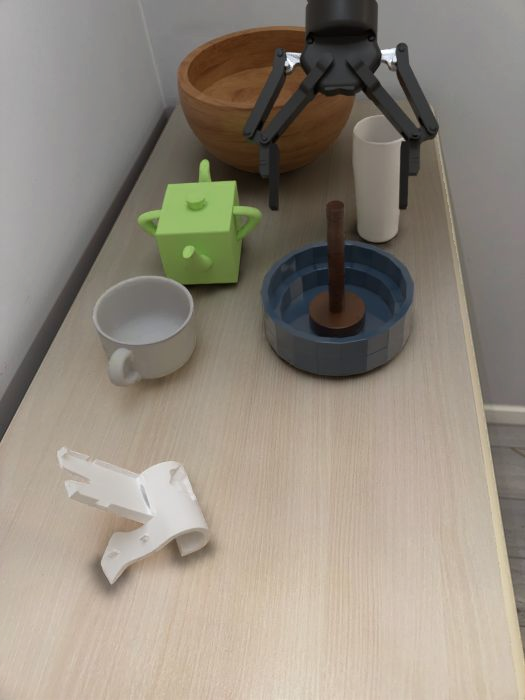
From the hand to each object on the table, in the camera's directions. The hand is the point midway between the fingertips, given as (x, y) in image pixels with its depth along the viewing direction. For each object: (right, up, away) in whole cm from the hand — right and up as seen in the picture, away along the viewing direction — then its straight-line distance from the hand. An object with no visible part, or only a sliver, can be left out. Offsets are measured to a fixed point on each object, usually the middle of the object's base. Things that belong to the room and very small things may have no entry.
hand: (337, 208), depth 71 cm
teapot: (-15, -4, +17) cm, 23 cm away
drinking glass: (+7, +1, +18) cm, 20 cm away
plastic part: (-18, -32, -8) cm, 38 cm away
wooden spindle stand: (+1, -12, +7) cm, 13 cm away
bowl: (-6, +14, +32) cm, 36 cm away
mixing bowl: (+1, -12, +7) cm, 14 cm away
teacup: (-21, -17, +6) cm, 27 cm away
